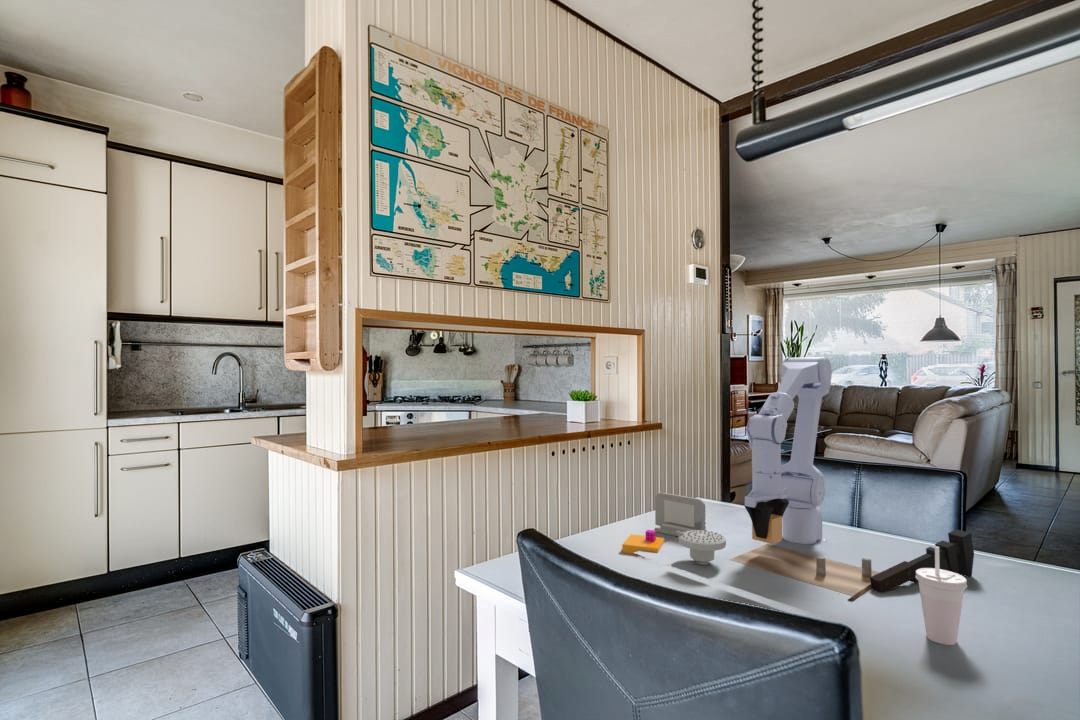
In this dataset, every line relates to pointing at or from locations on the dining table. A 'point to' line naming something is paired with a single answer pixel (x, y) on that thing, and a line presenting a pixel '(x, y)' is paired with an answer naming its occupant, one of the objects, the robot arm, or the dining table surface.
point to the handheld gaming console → (678, 513)
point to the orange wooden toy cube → (771, 530)
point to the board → (812, 569)
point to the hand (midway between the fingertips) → (767, 535)
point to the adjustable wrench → (930, 562)
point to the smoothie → (941, 601)
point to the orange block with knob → (643, 543)
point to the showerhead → (702, 544)
